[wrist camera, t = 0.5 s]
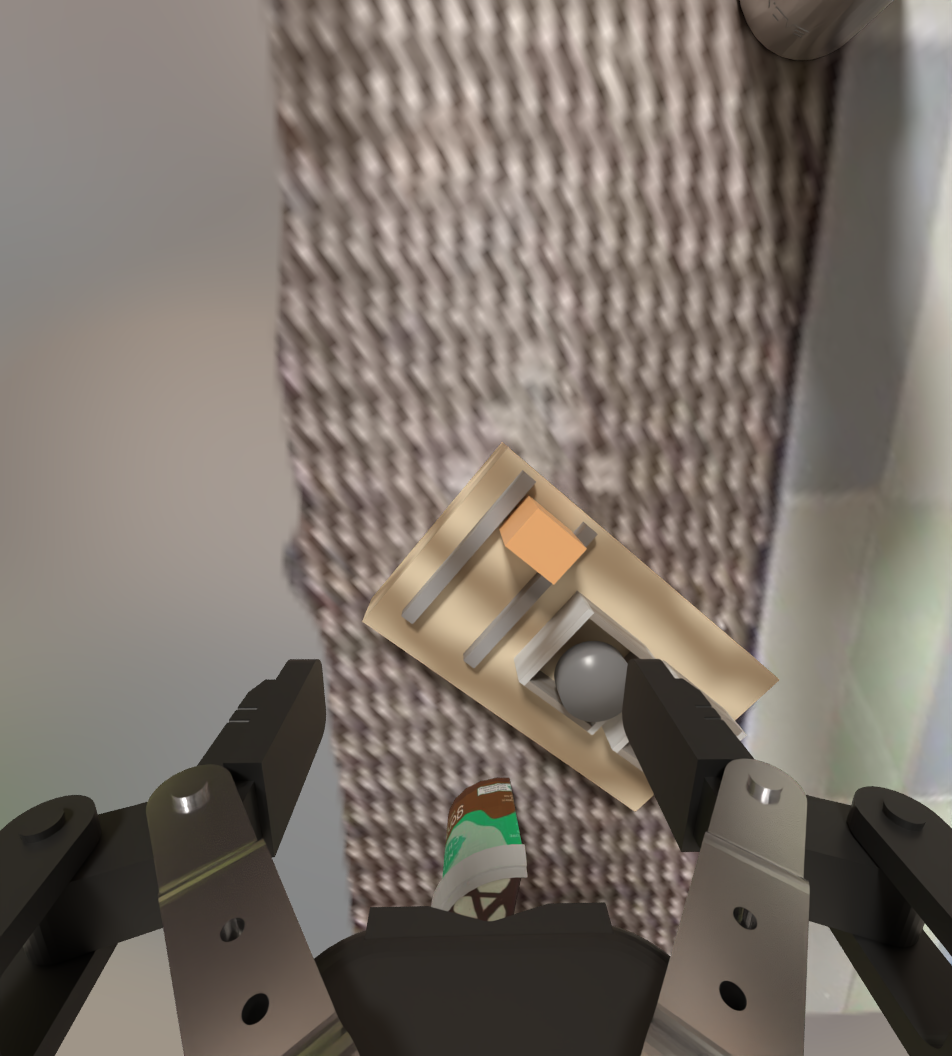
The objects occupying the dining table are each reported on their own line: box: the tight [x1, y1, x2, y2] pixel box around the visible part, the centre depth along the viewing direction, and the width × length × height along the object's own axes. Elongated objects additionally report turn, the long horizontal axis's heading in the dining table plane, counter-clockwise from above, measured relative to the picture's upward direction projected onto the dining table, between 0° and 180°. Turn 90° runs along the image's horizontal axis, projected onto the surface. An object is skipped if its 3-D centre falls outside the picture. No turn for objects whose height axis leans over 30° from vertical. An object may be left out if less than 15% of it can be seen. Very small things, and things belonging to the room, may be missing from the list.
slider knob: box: [499, 495, 587, 585], centre depth 30 cm, size 3×4×4 cm
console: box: [362, 442, 779, 812], centre depth 36 cm, size 16×28×7 cm, turn 50°
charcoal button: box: [554, 641, 628, 722], centre depth 32 cm, size 5×5×2 cm
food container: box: [432, 778, 528, 921], centre depth 39 cm, size 12×6×10 cm, turn 171°
